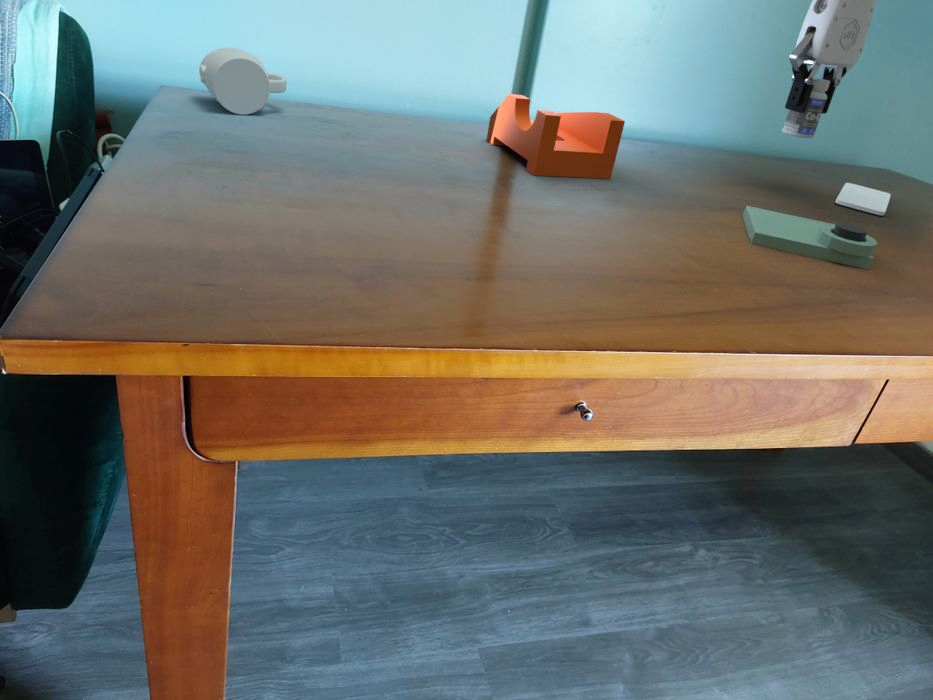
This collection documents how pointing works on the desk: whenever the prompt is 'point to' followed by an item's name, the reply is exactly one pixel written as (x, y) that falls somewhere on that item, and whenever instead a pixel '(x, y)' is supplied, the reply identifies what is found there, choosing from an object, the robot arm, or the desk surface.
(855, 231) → the scale button
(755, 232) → the scale
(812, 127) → the pill bottle
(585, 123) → the tape dispenser
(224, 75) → the mug
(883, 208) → the smartphone
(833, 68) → the robot arm
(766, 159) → the desk surface
